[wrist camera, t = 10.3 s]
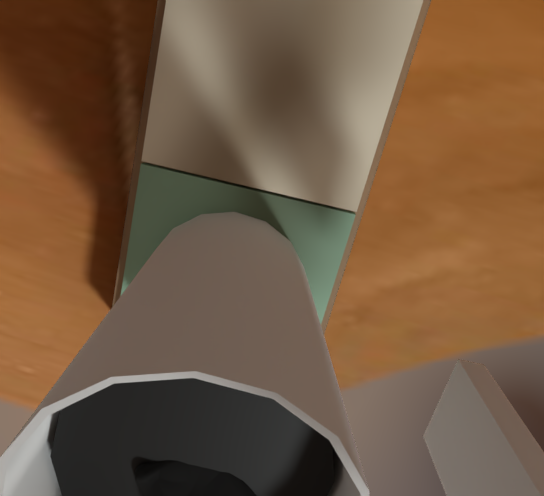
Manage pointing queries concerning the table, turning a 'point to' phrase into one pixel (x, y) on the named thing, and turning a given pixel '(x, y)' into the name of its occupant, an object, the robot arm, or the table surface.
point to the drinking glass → (197, 383)
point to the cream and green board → (268, 122)
